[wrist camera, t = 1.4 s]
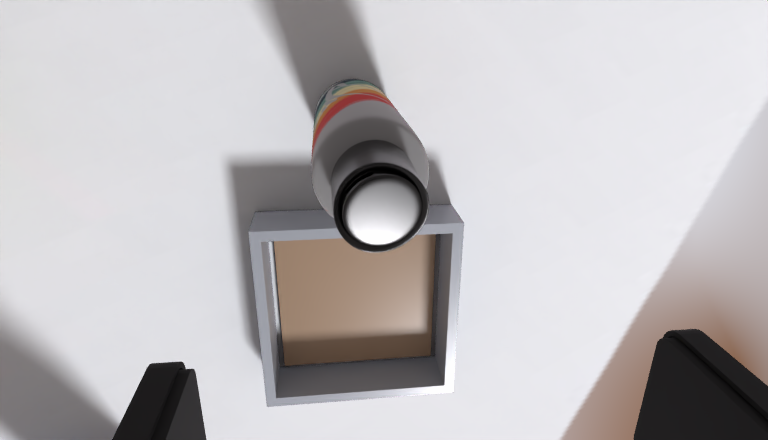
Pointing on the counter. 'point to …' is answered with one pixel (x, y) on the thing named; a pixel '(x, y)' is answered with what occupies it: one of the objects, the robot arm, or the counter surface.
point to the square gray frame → (355, 309)
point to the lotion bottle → (368, 167)
